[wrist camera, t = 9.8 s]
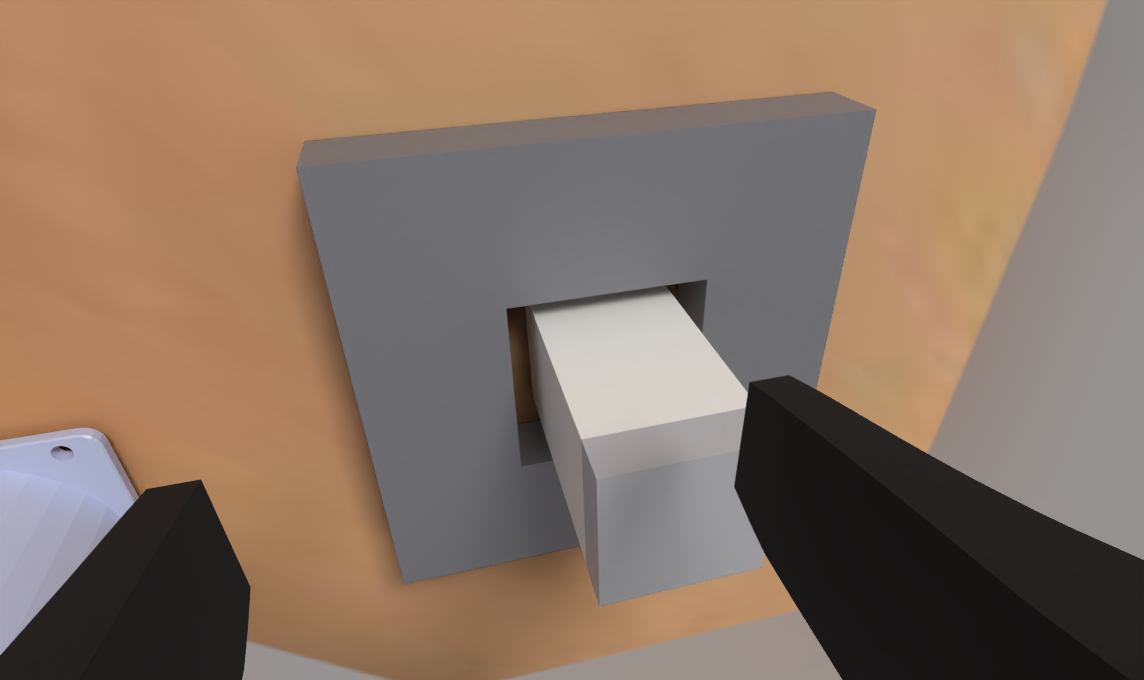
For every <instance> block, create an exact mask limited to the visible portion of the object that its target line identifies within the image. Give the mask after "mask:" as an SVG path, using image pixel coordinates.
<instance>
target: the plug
mask: <svg viewBox="0 0 1144 680" xmlns="http://www.w3.org/2000/svg"><path fill="white" fill-rule="evenodd" d="M525 310H526V322H527V333H528V345H529V356H530V367H531V379H532V390H533V398H534V402H535V405H536V408H537V411H538V414H539V417H540V420H541V424H542V427H543V430H544V433H545V436H546V439H547V443H548V446H549V449H550V452H551V455H552V458H553V461H554V465H555V468H556V471H557V474H558V477H559V480H560V483H561V487H562V490H563V493H564V496H565V499H566V502H567V506H568V509H569V512H570V515H571V518H572V521H573V524H574V528H575V531H576V534H577V537H578V540H579V543H580V546H581V550H582V553H583V556H584V559H585V562H586V565H587V569H588V572H589V575H590V578H591V581H592V584H593V587H594V591H595V594H596V597H597V600H598V603H599V606H604V605H608V604H612V603H617V602H621V601H625V600H629V599H633V598H637V597H642V596H646V595H650V594H654V593H658V592H663V591H667V590H671V589H675V588H679V587H683V586H688V585H692V584H696V583H700V582H704V581H708V580H713V579H717V578H721V577H725V576H729V575H733V574H738V573H742V572H746V571H750V570H754V569H758V568H762V563H763V558H764V551H763V550H762V547H761V545H760V543H759V541H758V539H757V537H756V535H755V533H754V531H753V528H752V526H751V524H750V522H749V520H748V518H747V515H746V513H745V511H744V508H743V506H742V504H741V502H740V499H739V497H738V495H737V492H736V490H735V488H734V484H735V477H736V470H737V463H738V456H739V450H740V443H741V436H742V429H743V422H744V415H745V408H746V402H747V395H748V392H747V391H746V390H745V389H744V387H743V386H742V385H741V383H740V382H739V381H738V379H737V378H736V377H735V376H734V374H733V373H732V372H731V370H730V369H729V368H728V366H727V365H726V364H725V362H724V361H723V360H722V359H721V357H720V356H719V355H718V353H717V352H716V351H715V349H714V348H713V347H712V346H711V344H710V343H709V342H708V340H707V339H706V338H705V336H704V335H703V334H702V332H701V331H700V330H699V329H698V327H697V326H696V325H695V323H694V322H693V321H692V319H691V318H690V317H689V316H688V314H687V313H686V312H685V310H684V309H683V308H682V306H681V305H680V304H679V303H678V301H677V300H676V299H675V297H674V296H673V295H672V293H671V292H670V291H669V289H668V288H667V287H666V286H659V287H652V288H645V289H638V290H631V291H624V292H617V293H611V294H604V295H597V296H590V297H583V298H576V299H569V300H562V301H556V302H549V303H542V304H535V305H528V306H525Z"/></svg>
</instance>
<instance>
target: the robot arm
mask: <svg viewBox="0 0 1144 680" xmlns="http://www.w3.org/2000/svg"><path fill="white" fill-rule="evenodd" d="M58 446H65V447H68V448H70V449H71V450H72V451H65V450H62V449H60V448H59V447H58ZM734 488H735V490H736V492H737V495H738V497H739V499H740V502H741V504H742V506H743V508H744V511H745V513H746V515H747V518H748V520H749V522H750V524H751V526H752V528H753V531H754V533H755V535H756V537H757V539H758V541H759V543H760V545H761V547H762V550H763V551H764V553H765V555H766V556H767V558H768V560H769V561H770V563H771V565H772V566H773V568H774V570H775V571H776V573H777V575H778V576H779V578H780V580H781V581H782V583H783V584H784V586H785V588H786V589H787V591H788V593H789V594H790V596H791V598H792V599H793V601H794V602H795V604H796V606H797V607H798V609H799V610H800V612H801V614H802V615H803V617H804V619H805V620H806V622H807V623H808V625H809V626H810V628H811V630H812V631H813V633H814V635H815V636H816V638H817V639H818V641H819V643H820V644H821V646H822V647H823V649H824V651H825V652H826V654H827V656H828V657H829V659H830V660H831V662H832V663H833V665H834V667H835V668H836V670H837V672H838V673H839V675H840V676H841V678H842V680H1144V560H1142V559H1140V558H1138V557H1136V556H1133V555H1131V554H1129V553H1127V552H1124V551H1122V550H1120V549H1118V548H1115V547H1113V546H1111V545H1109V544H1106V543H1104V542H1102V541H1100V540H1097V539H1095V538H1093V537H1091V536H1088V535H1086V534H1084V533H1082V532H1079V531H1077V530H1075V529H1073V528H1070V527H1068V526H1066V525H1064V524H1062V523H1060V522H1058V521H1056V520H1054V519H1051V518H1049V517H1047V516H1045V515H1043V514H1041V513H1039V512H1037V511H1035V510H1033V509H1031V508H1029V507H1027V506H1025V505H1023V504H1021V503H1019V502H1017V501H1015V500H1013V499H1011V498H1009V497H1007V496H1005V495H1004V494H1001V493H1000V492H997V491H996V490H994V489H992V488H990V487H988V486H986V485H984V484H982V483H980V482H978V481H976V480H974V479H973V478H971V477H969V476H967V475H965V474H963V473H961V472H960V471H958V470H956V469H954V468H952V467H950V466H949V465H947V464H945V463H943V462H941V461H939V460H938V459H936V458H934V457H932V456H930V455H929V454H927V453H925V452H923V451H922V450H920V449H918V448H916V447H915V446H913V445H911V444H909V443H908V442H906V441H904V440H902V439H901V438H899V437H897V436H895V435H894V434H892V433H890V432H888V431H887V430H885V429H883V428H882V427H880V426H878V425H876V424H875V423H873V422H871V421H870V420H868V419H866V418H864V417H863V416H861V415H859V414H858V413H856V412H854V411H852V410H851V409H849V408H847V407H846V406H844V405H842V404H840V403H839V402H837V401H835V400H834V399H832V398H830V397H828V396H827V395H825V394H823V393H821V392H820V391H818V390H816V389H814V388H812V387H811V386H809V385H807V384H805V383H803V382H801V381H800V380H798V379H796V378H794V377H792V376H790V375H786V376H781V377H775V378H769V379H764V380H758V381H753V382H749V388H748V395H747V402H746V408H745V415H744V422H743V429H742V436H741V443H740V450H739V456H738V463H737V470H736V477H735V484H734ZM249 602H250V585H249V583H248V581H247V579H246V577H245V574H244V572H243V570H242V568H241V566H240V563H239V561H238V559H237V557H236V555H235V553H234V550H233V548H232V546H231V544H230V542H229V540H228V537H227V535H226V533H225V531H224V529H223V526H222V524H221V522H220V520H219V518H218V516H217V513H216V511H215V509H214V507H213V505H212V502H211V500H210V498H209V496H208V494H207V492H206V489H205V487H204V485H203V483H202V481H201V480H196V481H190V482H184V483H179V484H173V485H167V486H162V487H156V488H151V489H146V490H145V491H144V493H143V494H142V495H141V496H140V497H139V496H138V495H137V493H136V491H135V489H134V487H133V485H132V484H131V482H130V480H129V478H128V476H127V474H126V472H125V471H124V469H123V467H122V465H121V463H120V461H119V459H118V458H117V456H116V454H115V452H114V450H113V448H112V446H111V445H110V443H109V441H108V439H107V438H106V437H105V435H104V434H103V433H101V432H99V431H97V430H95V429H91V428H76V429H69V430H63V431H57V432H51V433H44V434H38V435H32V436H26V437H19V438H13V439H7V440H0V680H242V676H243V671H244V664H245V654H246V643H247V632H248V617H249Z"/></svg>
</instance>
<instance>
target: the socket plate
mask: <svg viewBox="0 0 1144 680" xmlns="http://www.w3.org/2000/svg"><path fill="white" fill-rule="evenodd" d="M875 113H876V109H874V108H871V107H869V106H866V105H864V104H861V103H859V102H856V101H854V100H851V99H849V98H846V97H844V96H841V95H839V94H836V93H834V92H827V93H816V94H805V95H795V96H784V97H773V98H763V99H752V100H741V101H730V102H720V103H709V104H698V105H688V106H677V107H666V108H655V109H645V110H634V111H623V112H613V113H602V114H591V115H581V116H570V117H559V118H548V119H538V120H527V121H516V122H506V123H495V124H484V125H474V126H463V127H452V128H441V129H431V130H420V131H409V132H399V133H388V134H377V135H366V136H356V137H345V138H334V139H324V140H313V141H305V142H304V145H303V148H302V151H301V154H300V157H299V160H298V163H297V167H296V169H297V173H298V177H299V180H300V184H301V188H302V192H303V196H304V200H305V204H306V207H307V211H308V215H309V219H310V223H311V227H312V230H313V234H314V238H315V242H316V246H317V250H318V254H319V257H320V261H321V265H322V269H323V273H324V277H325V281H326V284H327V288H328V292H329V296H330V300H331V304H332V308H333V311H334V315H335V319H336V323H337V327H338V331H339V335H340V338H341V342H342V346H343V350H344V354H345V358H346V362H347V365H348V369H349V373H350V377H351V381H352V385H353V388H354V392H355V396H356V400H357V404H358V408H359V412H360V415H361V419H362V423H363V427H364V431H365V435H366V439H367V442H368V446H369V450H370V454H371V458H372V462H373V466H374V469H375V473H376V477H377V481H378V485H379V489H380V493H381V496H382V500H383V504H384V508H385V512H386V516H387V520H388V523H389V527H390V531H391V535H392V539H393V543H394V546H395V550H396V554H397V558H398V562H399V566H400V570H401V573H402V577H403V581H404V584H408V583H412V582H417V581H422V580H426V579H431V578H436V577H440V576H445V575H450V574H454V573H459V572H463V571H468V570H473V569H477V568H482V567H487V566H491V565H496V564H500V563H505V562H510V561H514V560H519V559H524V558H528V557H533V556H538V555H542V554H547V553H551V552H556V551H561V550H565V549H570V548H575V547H579V546H580V543H579V540H578V537H577V534H576V531H575V528H574V524H573V521H572V518H571V515H570V512H569V509H568V506H567V502H566V499H565V496H564V493H563V490H562V487H561V483H560V480H559V477H558V474H557V471H556V468H555V465H554V461H553V458H552V455H551V452H550V449H549V446H548V443H547V439H546V436H545V433H544V430H543V427H542V424H541V420H538V421H533V422H527V423H522V424H517V416H516V406H515V395H514V385H513V374H512V364H511V353H510V343H509V332H508V322H507V311H506V309H507V308H514V307H521V306H528V305H535V304H542V303H549V302H556V301H562V300H569V299H576V298H583V297H590V296H597V295H604V294H611V293H617V292H624V291H631V290H638V289H645V288H652V287H659V286H666V285H673V284H678V294H677V301H678V303H679V304H680V305H681V306H682V308H683V309H684V310H685V312H686V313H687V314H688V316H689V317H690V318H691V319H692V321H693V322H694V323H695V325H696V326H697V327H698V329H699V330H700V331H701V332H702V334H703V335H704V336H705V338H706V339H707V340H708V342H709V343H710V344H711V346H712V347H713V348H714V349H715V351H716V352H717V353H718V355H719V356H720V357H721V359H722V360H723V361H724V362H725V364H726V365H727V366H728V368H729V369H730V370H731V372H732V373H733V374H734V376H735V377H736V378H737V379H738V381H739V382H740V383H741V385H742V386H743V387H744V389H745V390H746V391H747V392H748V388H749V382H753V381H758V380H764V379H769V378H775V377H781V376H786V375H790V376H792V377H794V378H796V379H798V380H800V381H801V382H803V383H805V384H807V385H809V386H811V387H812V388H814V389H816V387H817V382H818V378H819V373H820V369H821V364H822V359H823V355H824V350H825V345H826V341H827V336H828V331H829V327H830V322H831V317H832V313H833V308H834V304H835V299H836V294H837V290H838V285H839V280H840V276H841V271H842V266H843V262H844V257H845V253H846V248H847V243H848V239H849V234H850V229H851V225H852V220H853V215H854V211H855V206H856V201H857V197H858V192H859V188H860V183H861V178H862V174H863V169H864V164H865V160H866V155H867V150H868V146H869V141H870V136H871V132H872V127H873V123H874V118H875Z"/></svg>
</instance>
